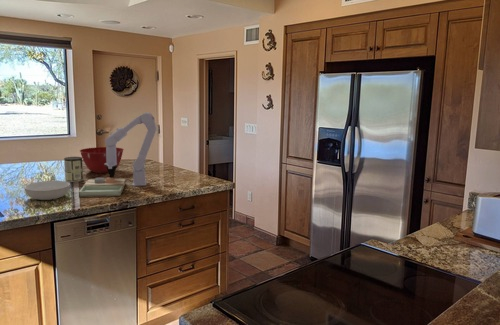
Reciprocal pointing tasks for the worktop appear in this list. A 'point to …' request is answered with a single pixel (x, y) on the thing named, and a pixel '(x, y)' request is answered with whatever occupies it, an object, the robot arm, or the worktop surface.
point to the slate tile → (99, 180)
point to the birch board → (117, 183)
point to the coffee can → (73, 169)
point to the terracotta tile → (110, 180)
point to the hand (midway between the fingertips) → (112, 178)
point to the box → (100, 191)
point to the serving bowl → (47, 189)
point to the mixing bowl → (98, 158)
